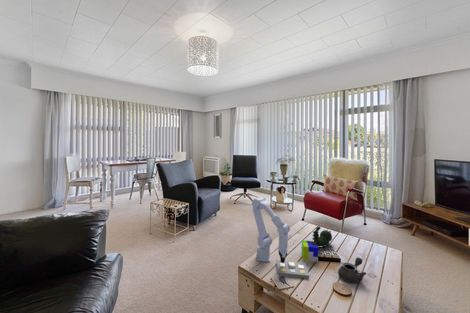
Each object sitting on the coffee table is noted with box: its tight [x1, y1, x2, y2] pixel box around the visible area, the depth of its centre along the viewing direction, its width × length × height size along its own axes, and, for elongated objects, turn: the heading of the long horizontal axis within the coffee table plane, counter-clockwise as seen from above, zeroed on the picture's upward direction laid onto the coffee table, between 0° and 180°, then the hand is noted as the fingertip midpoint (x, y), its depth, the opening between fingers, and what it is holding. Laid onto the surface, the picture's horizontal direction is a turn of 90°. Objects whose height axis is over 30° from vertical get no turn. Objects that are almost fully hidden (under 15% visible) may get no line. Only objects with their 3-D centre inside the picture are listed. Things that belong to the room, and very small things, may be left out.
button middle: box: [289, 261, 295, 268], centre depth 138 cm, size 4×4×2 cm
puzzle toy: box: [301, 239, 319, 262], centre depth 153 cm, size 10×10×10 cm
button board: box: [276, 259, 310, 279], centre depth 137 cm, size 19×14×2 cm
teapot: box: [337, 257, 367, 284], centre depth 131 cm, size 19×15×10 cm
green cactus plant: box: [312, 225, 333, 247], centre depth 171 cm, size 9×19×25 cm
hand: (282, 262), depth 139 cm, fingers closed
